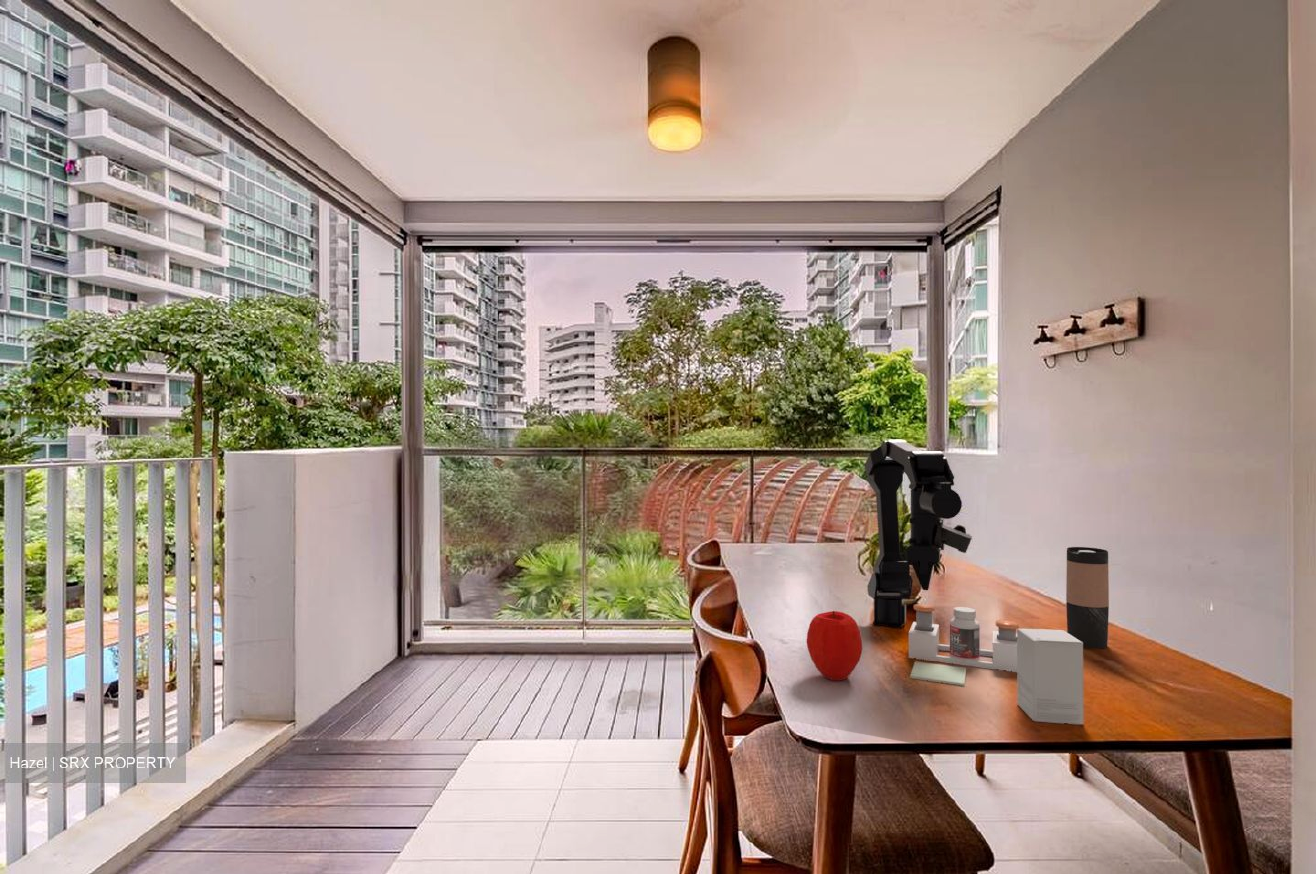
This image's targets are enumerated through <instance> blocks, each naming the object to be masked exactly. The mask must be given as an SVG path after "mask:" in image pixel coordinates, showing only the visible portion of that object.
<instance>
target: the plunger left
mask: <svg viewBox="0 0 1316 874" xmlns="http://www.w3.org/2000/svg"><path fill="white" fill-rule="evenodd" d="M935 608H936V607H935V606H934V605H932V604H926V603H916V604H913V610H915V611H916V613H915V614H916V615H915V617H916V618H915V619H916V620H915V622H916V630H921V631H929V632H932V624H933V612H935Z"/></svg>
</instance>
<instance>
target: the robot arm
mask: <svg viewBox="0 0 1316 874" xmlns="http://www.w3.org/2000/svg"><path fill="white" fill-rule="evenodd" d="M864 466H865V467H864V471H865V474H866V476H867V482H868V484H869V486H870V487H871V488H872V490H873V492H874V493H875V499H876V517H877V533H878V548H879V550H878V551H879V555H878V556H877V558H876V561H874V564H873V566H872V568H873V569H872V574H871V576H870V578H869V580H868V584H867V595H868V596H869V597H870V598H871V599H873V621H872V625H874V626H875V625H876V626H882V627H884V626H885V627H889V628H890V627H891V628H892V627H893V628H900V629H902V628H903V626H904V624H905V623H906V622H907V604H906V603H904V600H910V599H911V596H912V589H913V583H914V580H913V578H912V577H913V576H912V574H911V571H910V569H911V567H910V564H911V566H912V569H913V570H914V573H915V575H916V577H917V580H918V582H919V584H920V587H921V589H922V590H923V591H929V588H930V583H931V579H932V574H933V570H934V566H935V565H936V564H937V563H940V561H941V559H942V556H943V554H942V553H941V551H944V550H945V546H948V547H951V548H953V549H955V550H957V551H958V552H960V553H963V554H966V553H967V551H968V549H969V546H970V544H971V541H972V539H973V536H972V535H971V534H969V533H967V532H966V531H967V530H966V526H963V525H961V524H957V525H956V526H954V527H953V528H952V526H947V525H944V519H945V520H949V519H953V518H955V517H957V515H959V513H960V512H961V509H962V506H963V502H962V499H961V496H960V495H959V494H958V493H957V491H956V490H954V489H952V487H953V486H955V481H954V480H955V476H954V474H953V471H952V468H951V467H950V464H949V461H948V459H947V458H946V457H945V454H944V453H943V452H942V451H940V450H922V449H920V448H918V447H916V446H914V445H912V444H910V443H908V442H907V441H906V440H904V439H886V440H883V441H882V442H881V444H880V446H879V447H877V448H875V449H874V450H872V451H871V452H870V453H869V454H868V456H867V459H866V462H865V465H864ZM904 474H905V475H906V476H907V479H908V481H909V485H908V488H909V489H910V517H909V524H910V537H909V545H908V546H907V547H906V548H905V549H904V557H903V556H902V554H901V541H900V527H899V526H900V525H899V510H898V495H897V492H898V490H899V488H900V487H901V485H902V483H903V481H904ZM908 561H910V564H909V562H908Z"/></svg>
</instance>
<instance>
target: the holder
mask: <svg viewBox="0 0 1316 874" xmlns="http://www.w3.org/2000/svg"><path fill="white" fill-rule="evenodd" d="M939 651H943V652H950V644H942V643H941V644H940V624H938V623H932V632H929V631H921V630H916V621H913V622H912V624H911V626H910V629H909V631H908V659H914V658H916V660H921V659H922V660H923V659H924V660H923V661H931V662H937V661H938V663H939V662H940V663H946V664H952V663H953V664H954V665H961V666H967V667H976V668H982V669H991V670H996V669H999V670H998V671H1003V670H1006V671H1005V672H1011V671H1012V673H1017V632H1016V642H1015V641H1007V640H999V630H992V650H990V649H984V648H983V649H982V648H980V655H979V656H984V657H992V661H985V660H984V661H983V660H970V659H963V658H955V657H951V656H947V655H939Z"/></svg>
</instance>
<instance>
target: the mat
mask: <svg viewBox="0 0 1316 874" xmlns="http://www.w3.org/2000/svg"><path fill="white" fill-rule="evenodd" d="M911 669H912V670H911V673H910V675H909V678H910V679H914V680H921V681H927V680H928V681H927V682H933V683H934V682H935V683H941V682H943V684H947V683H948V684H949V685H954V684H955V685H956V686H962V687H965V682H966V676H967V675H966V674H967V668H966V667H959V666H952V665H944V664H937V663H930V662H922V661H914V663H913V666H912V668H911Z"/></svg>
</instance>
